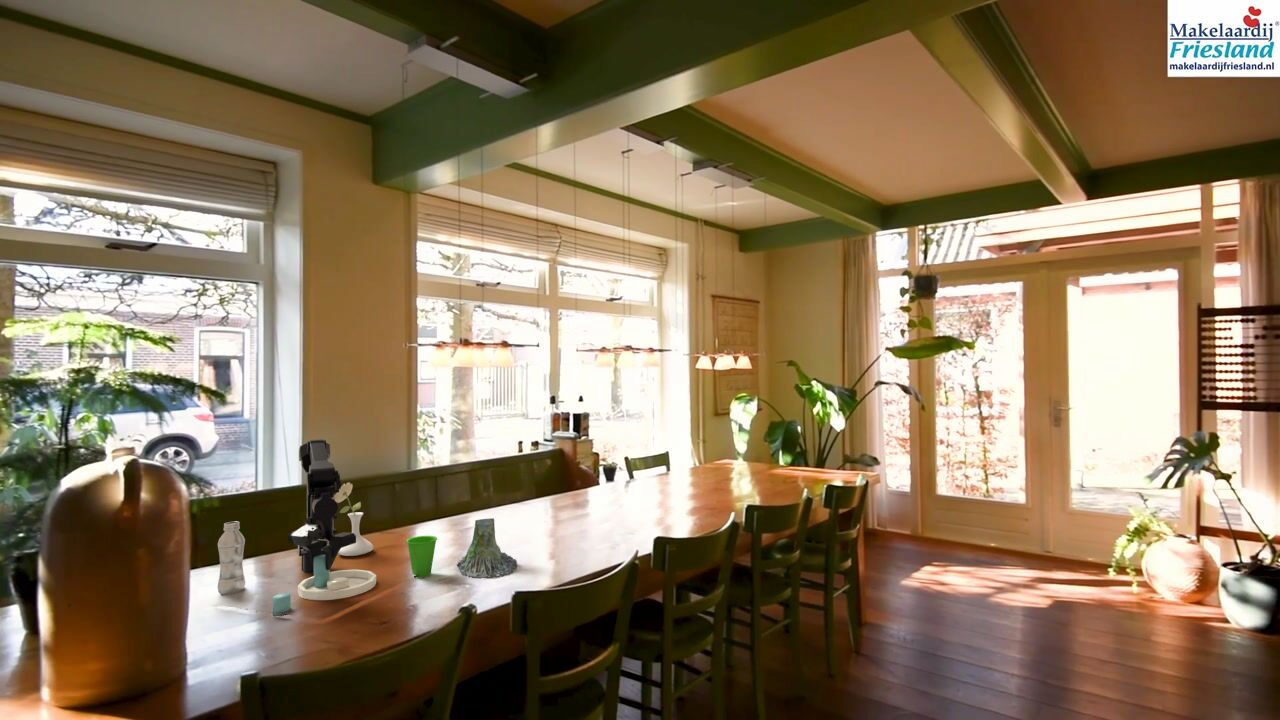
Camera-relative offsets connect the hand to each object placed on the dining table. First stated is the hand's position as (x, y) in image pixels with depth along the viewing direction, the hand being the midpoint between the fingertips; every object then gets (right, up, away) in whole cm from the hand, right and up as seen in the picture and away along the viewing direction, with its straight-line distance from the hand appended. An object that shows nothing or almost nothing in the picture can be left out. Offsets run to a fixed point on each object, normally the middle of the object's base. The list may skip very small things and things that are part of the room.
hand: (321, 569), depth 176 cm
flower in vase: (-10, -9, +42) cm, 44 cm away
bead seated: (-4, -7, +7) cm, 11 cm away
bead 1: (-5, -8, -11) cm, 15 cm away
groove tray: (+2, -8, +5) cm, 10 cm away
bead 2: (0, -1, 0) cm, 1 cm away
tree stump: (+39, -9, +26) cm, 48 cm away
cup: (+21, -8, +19) cm, 30 cm away
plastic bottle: (-27, -8, +3) cm, 29 cm away
